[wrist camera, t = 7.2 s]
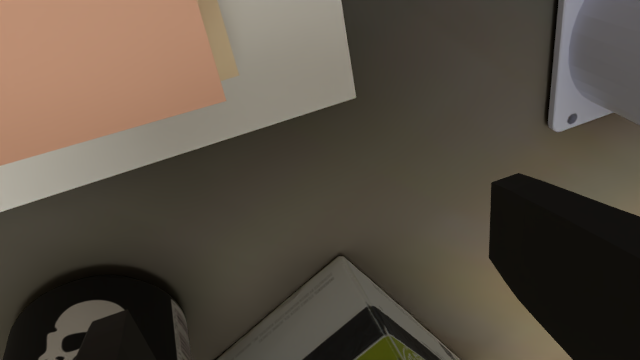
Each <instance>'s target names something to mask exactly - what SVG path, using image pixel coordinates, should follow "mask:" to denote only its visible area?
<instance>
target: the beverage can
mask: <svg viewBox="0 0 640 360" xmlns="http://www.w3.org/2000/svg"><path fill="white" fill-rule="evenodd" d="M127 309H128V311H129V312H130V314H131V316H132V318H133V319H134V321H135V323H136V325H137V326H138V328H139V330H140V332H141V333H142V335H143V337H144V339H145V340H146V342H147V344H148V346H149V348H150V349H151V351H152V353H153V355H154V356H155V358H156V360H192V357H191V349H190V342H189V335H188V327H187V321H186V318H185V315H184V313H183V311H182V309H181V307H180V306H179V305H178V303H177V302H176V301H175V300H174V299H173V298H172V297H171V296H170V295H169V294H167V293H166V292H165V291H163V290H161V289H160V288H158V287H156V286H154V285H151V284H149V283H146V282H143V281H140V280H137V279H133V278H130V277H125V276H113V275H104V276H94V277H88V278H83V279H79V280H76V281H73V282H71V283H68V284H65V285H62V286H60V287H57V288H55V289H53V290H51V291H49V292H47V293H45V294H44V295H42V296H40V297H39V298H37V299H36V300H35V301H34V302H32V303H31V304H30V305H29V306H28V307H26V309H25V310H24V311H23V312H22V313H21V314H20V315H19V317H18V318H17V320H16V321H15V323H14V325H13V326H12V329H11V331H10V334H9V337H8V341H7V345H6V349H5V353H4V357H3V360H75V357H76V355H77V353H78V351H79V348H80V346H81V344H82V342H83V339H84V337H85V335H86V333H87V330H88V328H89V327H90V325H91V323H92V321H95V320H98V319H101V318H104V317H107V316H109V315H112V314H115V313H118V312H121V311H124V310H127Z"/></svg>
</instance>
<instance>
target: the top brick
mask: <svg viewBox="0 0 640 360" xmlns="http://www.w3.org/2000/svg"><path fill="white" fill-rule="evenodd" d="M225 101H226V98H225V95H224V91H223V88H222V84H221V81H220V78H219V74H218V71H217V67H216V64H215V61H214V57H213V54H212V50H211V47H210V44H209V40H208V37H207V33H206V30H205V27H204V23H203V20H202V16H201V13H200V10H199V6H198V3H197V0H0V166H1V165H5V164H8V163H12V162H15V161H19V160H22V159H26V158H29V157H33V156H36V155H40V154H43V153H47V152H50V151H54V150H57V149H61V148H64V147H68V146H71V145H75V144H78V143H82V142H85V141H89V140H92V139H96V138H99V137H103V136H106V135H109V134H113V133H116V132H120V131H123V130H127V129H130V128H134V127H137V126H141V125H144V124H148V123H151V122H155V121H158V120H162V119H165V118H169V117H172V116H176V115H179V114H183V113H186V112H190V111H193V110H197V109H200V108H204V107H207V106H211V105H214V104H218V103H221V102H225Z"/></svg>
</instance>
